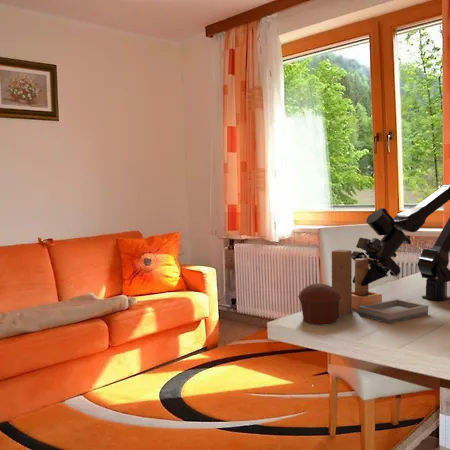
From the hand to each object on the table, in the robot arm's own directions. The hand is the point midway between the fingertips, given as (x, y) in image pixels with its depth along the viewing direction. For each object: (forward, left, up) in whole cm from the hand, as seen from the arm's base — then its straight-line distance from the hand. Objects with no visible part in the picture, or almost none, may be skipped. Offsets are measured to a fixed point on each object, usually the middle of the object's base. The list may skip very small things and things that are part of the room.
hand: (357, 284), depth 155 cm
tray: (-1, +12, -7) cm, 14 cm away
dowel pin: (-1, 0, -7) cm, 7 cm away
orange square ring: (-1, 0, -7) cm, 7 cm away
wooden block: (+10, +2, -7) cm, 12 cm away
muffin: (+20, +5, -7) cm, 22 cm away
